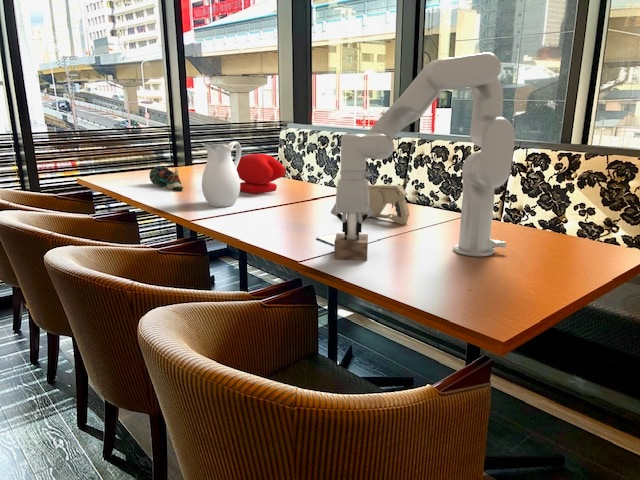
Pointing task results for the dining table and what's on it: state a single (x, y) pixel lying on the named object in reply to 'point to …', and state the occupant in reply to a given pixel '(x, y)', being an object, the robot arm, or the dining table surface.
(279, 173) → the toy
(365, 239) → the socket block
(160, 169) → the sculpture
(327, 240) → the smartphone
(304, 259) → the dining table surface
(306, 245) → the dining table surface
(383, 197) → the gun
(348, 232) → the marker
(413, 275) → the dining table surface
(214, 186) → the pitcher
